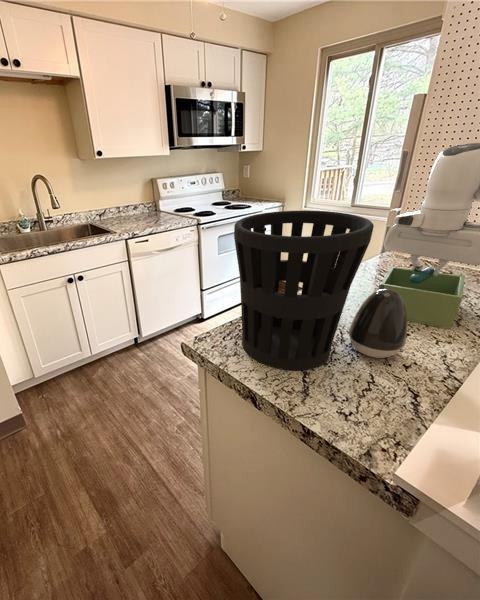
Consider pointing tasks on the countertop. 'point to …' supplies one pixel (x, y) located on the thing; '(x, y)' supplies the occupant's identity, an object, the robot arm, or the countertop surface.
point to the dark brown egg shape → (380, 324)
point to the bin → (427, 296)
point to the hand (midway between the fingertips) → (424, 273)
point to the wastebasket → (296, 283)
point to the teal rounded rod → (421, 276)
